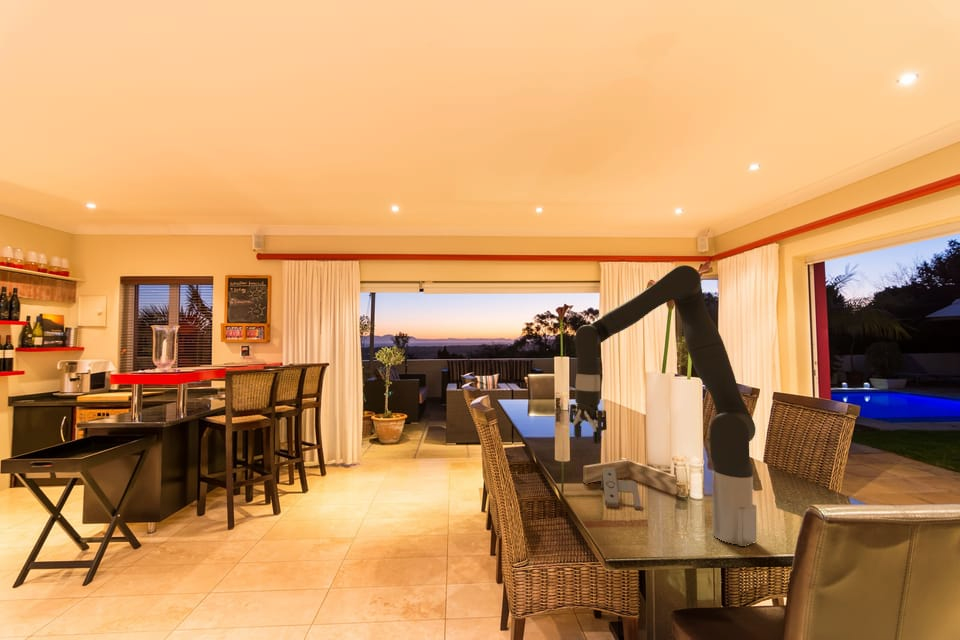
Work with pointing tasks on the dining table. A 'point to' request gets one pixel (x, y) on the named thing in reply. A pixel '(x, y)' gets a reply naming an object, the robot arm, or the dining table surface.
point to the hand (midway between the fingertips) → (587, 440)
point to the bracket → (617, 488)
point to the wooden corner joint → (632, 474)
